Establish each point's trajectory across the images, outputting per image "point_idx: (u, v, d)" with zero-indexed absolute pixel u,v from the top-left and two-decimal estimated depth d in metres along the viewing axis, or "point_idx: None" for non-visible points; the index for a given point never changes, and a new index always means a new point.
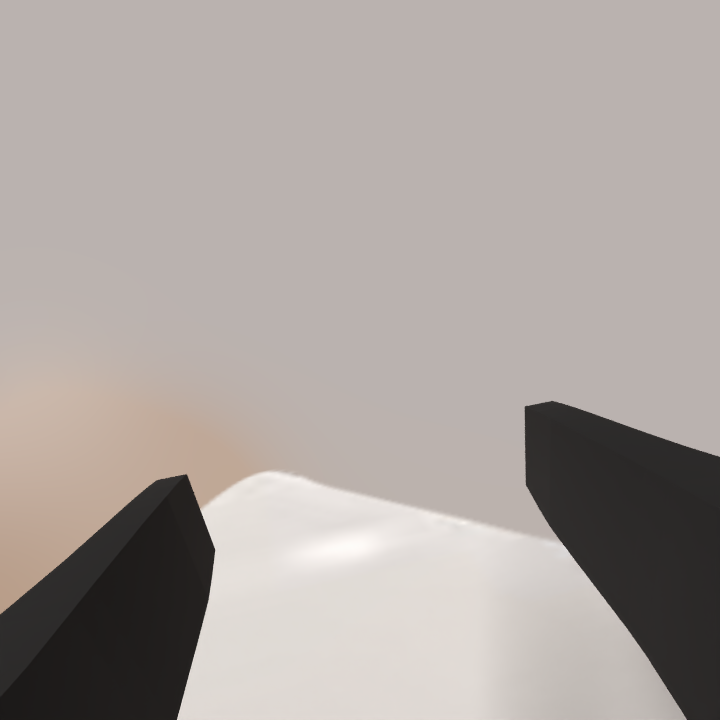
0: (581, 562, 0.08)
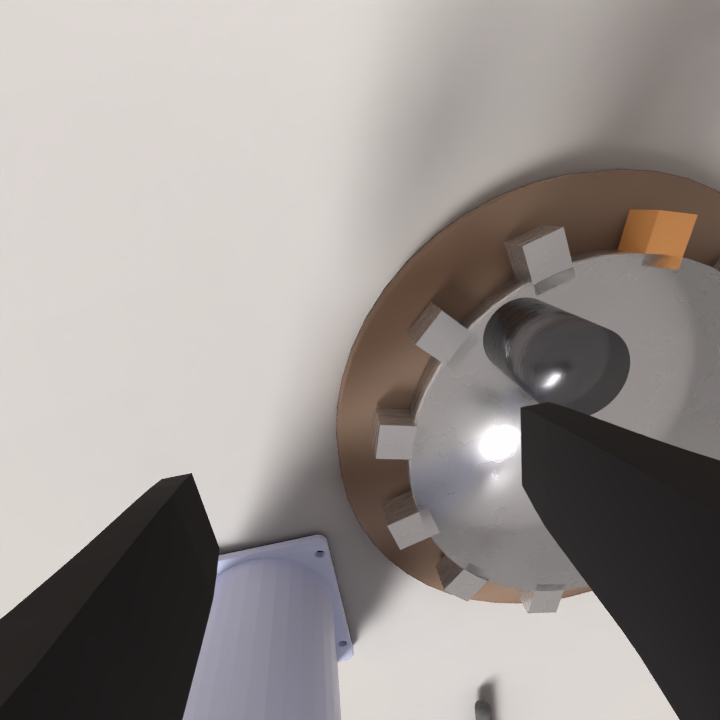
0: (576, 564, 0.08)
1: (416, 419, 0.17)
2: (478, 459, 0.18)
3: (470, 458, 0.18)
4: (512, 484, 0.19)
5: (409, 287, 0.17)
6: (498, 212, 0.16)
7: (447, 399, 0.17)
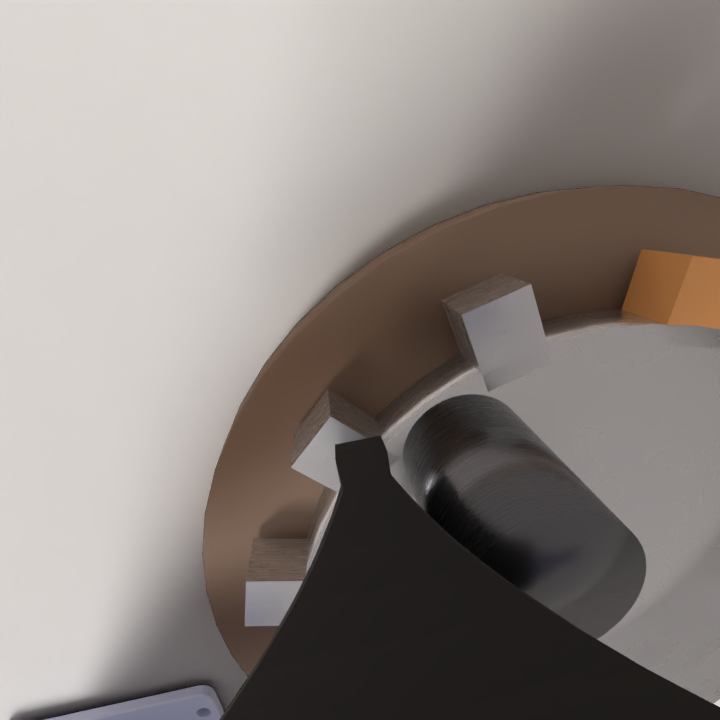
0: None
1: (307, 567, 0.11)
2: None
3: None
4: None
5: (292, 368, 0.11)
6: (428, 253, 0.10)
7: None
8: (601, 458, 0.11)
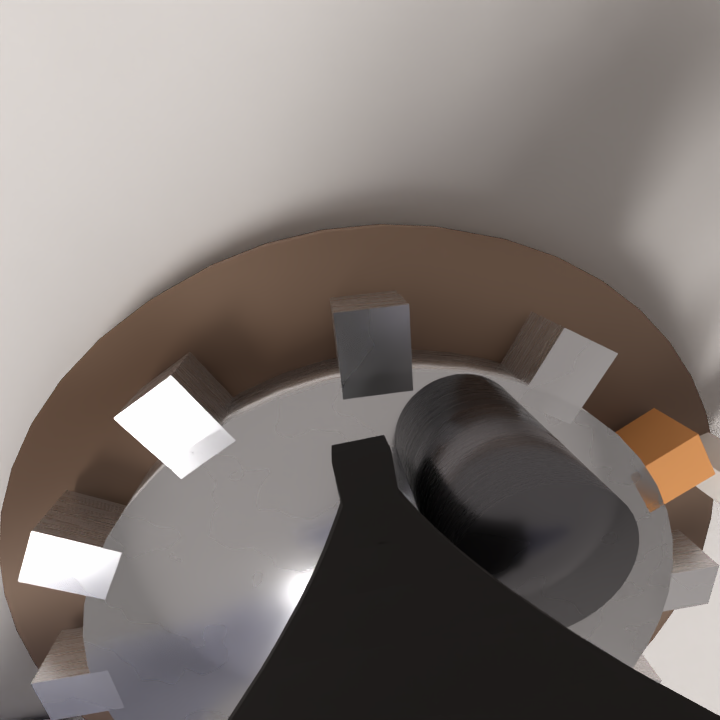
0: None
1: (230, 417, 0.10)
2: (256, 542, 0.10)
3: (248, 531, 0.10)
4: (266, 608, 0.11)
5: (64, 411, 0.11)
6: (188, 296, 0.10)
7: (297, 428, 0.10)
8: None
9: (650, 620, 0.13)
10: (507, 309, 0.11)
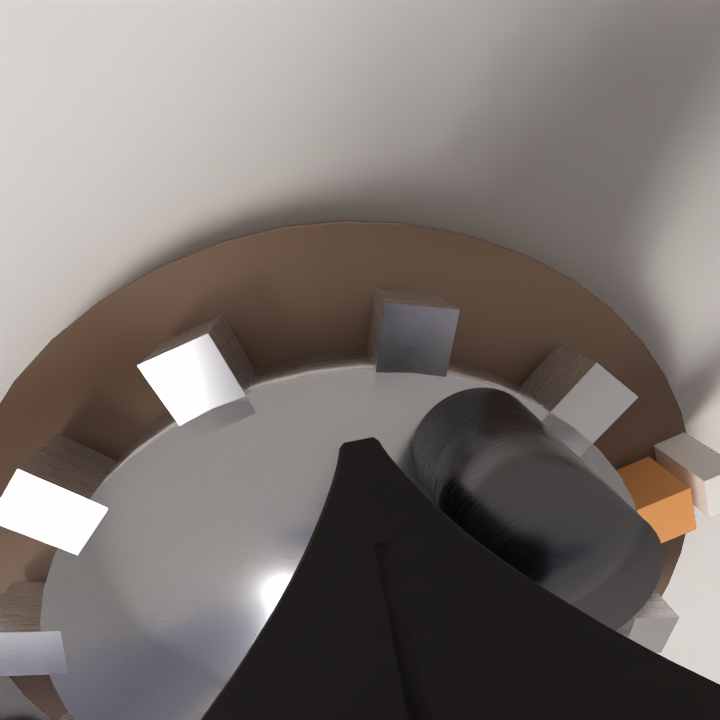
0: None
1: (254, 387, 0.09)
2: (250, 520, 0.10)
3: (245, 508, 0.10)
4: (242, 590, 0.11)
5: (19, 413, 0.10)
6: (142, 295, 0.10)
7: (321, 411, 0.09)
8: None
9: None
10: (472, 307, 0.11)
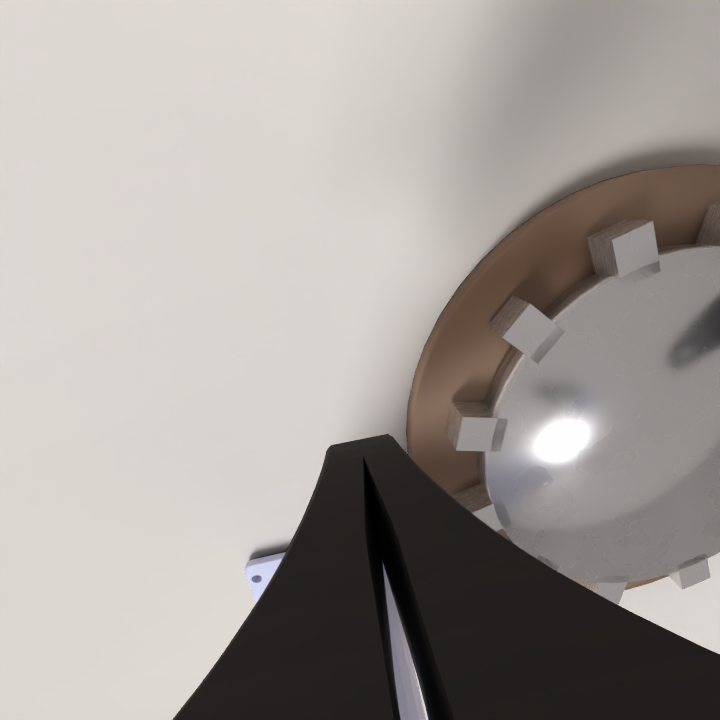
0: (396, 603, 0.08)
1: None
2: (634, 344, 0.17)
3: (635, 335, 0.17)
4: (614, 394, 0.18)
5: (488, 284, 0.17)
6: (578, 209, 0.17)
7: (694, 271, 0.16)
8: None
9: None
10: None
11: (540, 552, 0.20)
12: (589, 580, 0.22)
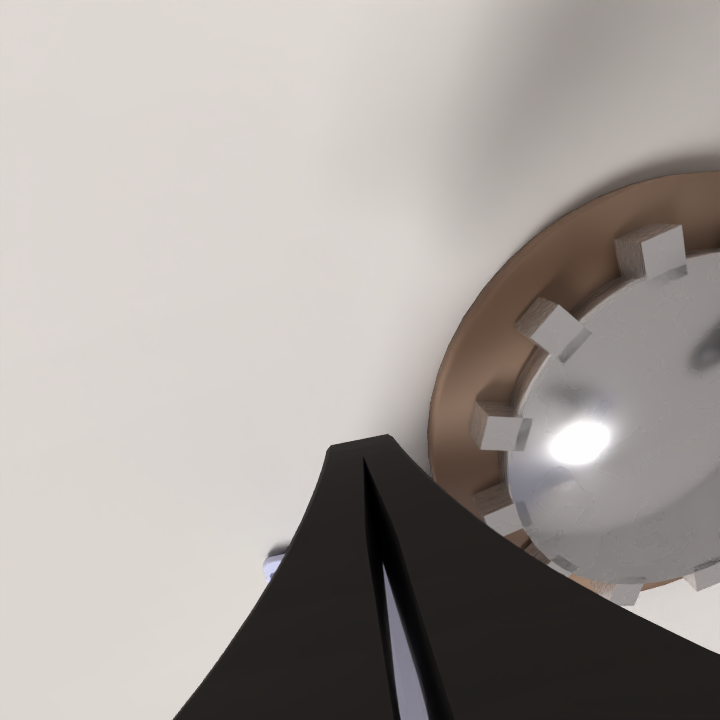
0: (396, 603, 0.08)
1: None
2: (659, 346, 0.17)
3: (660, 337, 0.17)
4: (638, 396, 0.18)
5: (515, 285, 0.17)
6: (605, 212, 0.17)
7: None
8: None
9: None
10: None
11: (559, 552, 0.21)
12: (606, 581, 0.22)
